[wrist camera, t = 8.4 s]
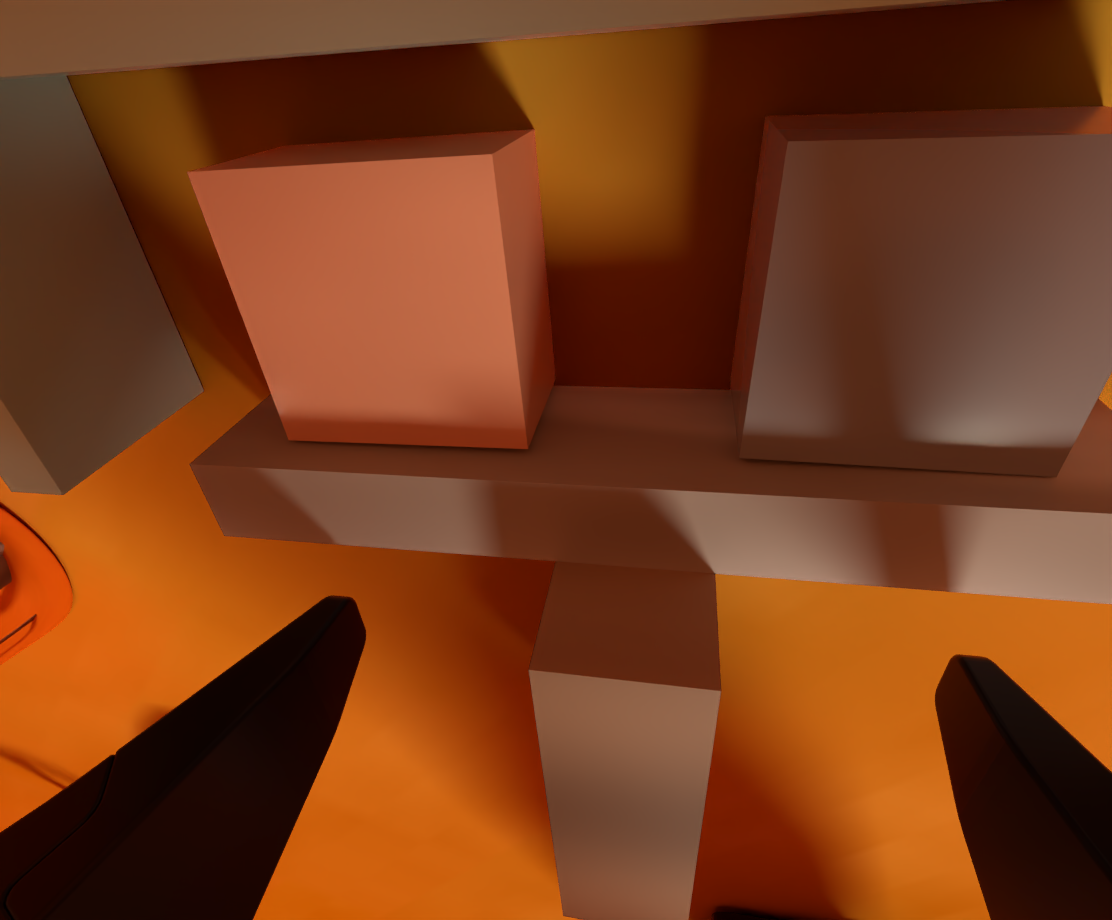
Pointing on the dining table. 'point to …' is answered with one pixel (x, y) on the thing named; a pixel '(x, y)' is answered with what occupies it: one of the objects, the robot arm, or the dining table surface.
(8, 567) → the beer glass
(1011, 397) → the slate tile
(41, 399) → the box
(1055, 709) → the dining table surface
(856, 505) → the scraper
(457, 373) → the terracotta tile
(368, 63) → the dining table surface
